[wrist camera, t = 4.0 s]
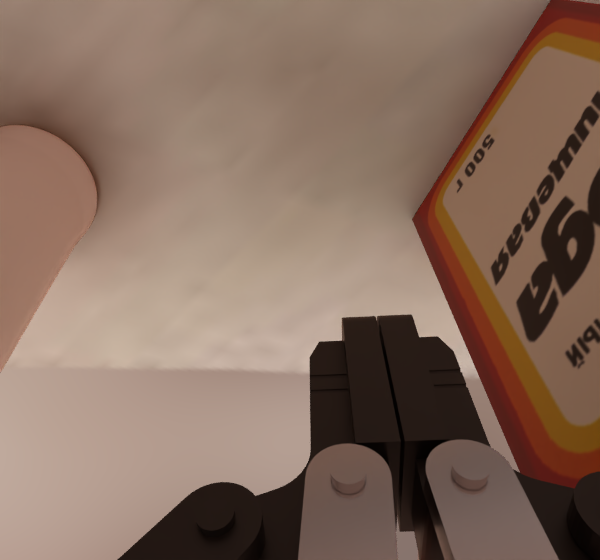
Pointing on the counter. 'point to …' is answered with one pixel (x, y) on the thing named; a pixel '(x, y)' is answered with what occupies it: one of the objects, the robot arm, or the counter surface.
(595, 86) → the baking soda box
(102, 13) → the counter surface
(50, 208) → the pinkish beige cup
